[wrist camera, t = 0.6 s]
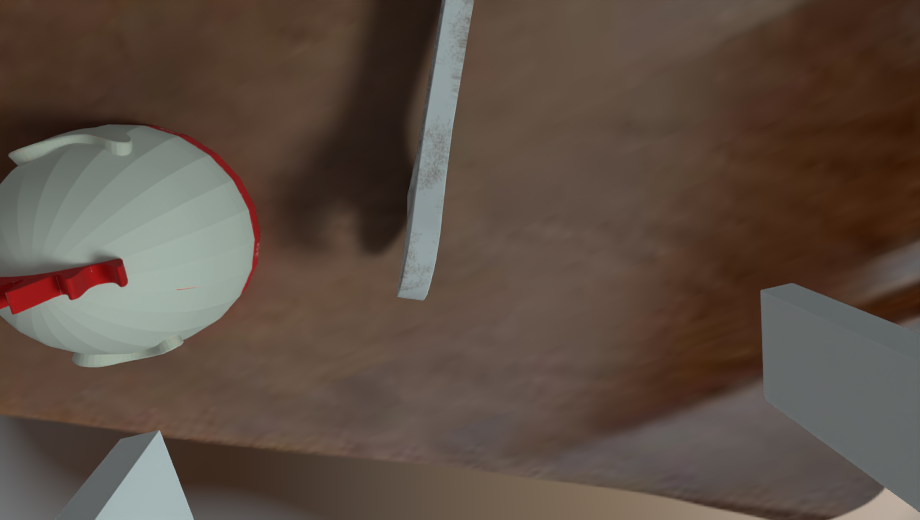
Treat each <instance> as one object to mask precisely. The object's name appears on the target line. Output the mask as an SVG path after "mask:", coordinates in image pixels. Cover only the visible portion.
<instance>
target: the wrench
mask: <svg viewBox="0 0 920 520" xmlns="http://www.w3.org/2000/svg"><path fill="white" fill-rule="evenodd" d="M473 3H474V0H442V2H441V8H440V14H439V21H438V27H437V33H436V39H435V45H434V51H433V58H432V64H431V70H430V76H429V82H428V88H427V95H426V101H425V107H424V113H423V119H422V125H421V131H420V136H419V142H418V147H417V152H416V157H415V162H414V167H413V172H412V177H411V182H410V186H409V190H408V195H407V229H406V236H405V243H404V250H403V258H402V268H401V273H400V279H399V284H398V289H397V297H403V298H410V299H417V300H424V299H425V297H426V295H427V293H428V290H429V287H430V283H431V279H432V275H433V271H434V266H435V261H436V255H437V250H438V244H439V237H440V229H441V219H442V210H443V201H444V192H445V183H446V174H447V166H448V159H449V151H450V143H451V135H452V127H453V121H454V115H455V109H456V103H457V97H458V92H459V86H460V80H461V74H462V68H463V62H464V56H465V50H466V44H467V38H468V32H469V26H470V21H471V15H472V9H473Z"/></svg>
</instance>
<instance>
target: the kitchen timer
mask: <svg viewBox="0 0 920 520" xmlns="http://www.w3.org/2000/svg"><path fill="white" fill-rule="evenodd" d="M9 157H10V158H11V159H12V160H13V161H14V162H15V163H16V164H17V165H18V166H17V167H16V168H15V169H14V170H12V171H11V172H10V173H9V175H8V176H7V177H6V178H5V179H4V181H3V182H2V183H1V184H0V316H1V317H3V318H4V319H5V320H6V321H8V322H9V323H10V324H11V325H12V326H14V327H15V328H16V329H17V330H18V331H20V332H21V333H23V334H25V335H27V336H29V337H32V338H34V339H36V340H38V341H40V342H42V343H44V344H46V345H48V346H51V347H55V348H59V349H64V350H68V351H73V352H74V355H73V358H72V361H73V362H74V363H75V364H77V365H79V366H83V367H102V366H108V365H113V364H117V363H122V362H127V361H131V360H137V359H142V358H147V357H152V356H156V355H160V354H163V353H166V352H168V351H171V350H173V349H174V348H176V347H178V346H180V345H182V344H183V340H184V339H187V338H189V337H191V336H192V335H194V334H196V333H197V332H199V331H200V330H202V329H204V328H205V327H207V326H209V325H210V324H212V323H213V322H215V321H217V320H218V319H219V318H221V317H222V316H223V314H224V313H225V312H226V311H227V310H228V309H229V308H230V307H231V305H232V304H233V303H234V302H235V301H236V300H237V299H238V297H239V296H240V295H241V294H242V293H243V292H244V290H245V289H246V288H247V286H248V283H249V281H250V279H251V276H252V274H253V272H254V270H255V267H256V265H257V262H258V252H259V242H260V231H259V226H258V221H257V216H256V211H255V207H254V204H253V202H252V200H251V198H250V196H249V195H248V193H247V191H246V189H245V187H244V185H243V183H242V181H241V179H240V178H239V177H238V176H237V175H236V173H235V172H234V171H233V170H232V169H231V168H230V167H229V166H228V165H227V164H226V163H225V162H224V161H223V160H222V159H221V157H220V156H219V155H218V154H216V153H215V152H213V151H212V150H210V149H208V148H207V147H205V146H204V145H202V144H200V143H199V142H197V141H196V140H194V139H192V138H191V137H189V136H187V135H184V134H180V133H177V132H174V131H171V130H168V129H164V128H161V127H158V126H149V125H120V124H108V125H103V126H99V127H95V128H85V129H79V130H74V131H70V132H66V133H63V134H60V135H57V136H54V137H51V138H49V139H46V140H44V141H41V142H38V143H35V144H32V145H29V146H26V147H23V148H20V149H17V150H15V151H13V152H11V153H9Z"/></svg>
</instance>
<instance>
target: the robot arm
mask: <svg viewBox="0 0 920 520" xmlns="http://www.w3.org/2000/svg"><path fill="white" fill-rule="evenodd" d="M761 316H762V346H763V375H764V399H765V400H766V401H768V402H769V403H771V404H772V405H773V406H775V407H776V408H777V409H779V410H780V411H782V412H783V413H784V414H786V415H787V416H788V417H790V418H791V419H793V420H794V421H795V422H797V423H798V424H799V425H801V426H802V427H803V428H805V429H806V430H808V431H809V432H810V433H812V434H813V435H814V436H816V437H817V438H819V439H820V440H821V441H823V442H824V443H825V444H827V445H828V446H830V447H831V448H832V449H834V450H835V451H836V452H838V453H839V454H841V455H842V456H843V457H845V458H846V459H847V460H849V461H850V462H851V463H853V464H854V465H856V466H857V467H858V468H860V469H861V470H862V471H864V472H865V473H867V474H868V475H869V476H871V477H872V478H873V479H875V480H876V481H878V482H879V483H880V484H882V485H883V486H884V487H886V488H887V489H888V490H890V491H891V492H893V493H894V494H895V495H897V496H898V497H899V498H901V499H902V500H904V501H905V502H906V503H908V504H909V505H911V506H912V507H913V508H915V509H916V510H917V511H919V512H920V334H919V333H917V332H914V331H912V330H909V329H907V328H904V327H902V326H899V325H897V324H894V323H892V322H889V321H887V320H884V319H882V318H879V317H877V316H874V315H871V314H869V313H866V312H864V311H861V310H859V309H856V308H854V307H851V306H849V305H846V304H844V303H841V302H839V301H836V300H834V299H831V298H829V297H826V296H824V295H821V294H819V293H816V292H814V291H811V290H808V289H806V288H803V287H801V286H798V285H796V284H793V283H790V284H786V285H782V286H778V287H773V288H769V289H765V290H761ZM54 520H194V519H193V516H192V514H191V511H190V508H189V506H188V503H187V501H186V498H185V495H184V493H183V491H182V488H181V485H180V483H179V480H178V477H177V475H176V472H175V469H174V467H173V464H172V462H171V459H170V456H169V454H168V451H167V449H166V446H165V443H164V441H163V438H162V436H161V433H160V430H158V431H154V432H149V433H145V434H141V435H137V436H133V437H128V438H124V439H120V440H119V442H118V443H117V444H116V445H115V447H114V448H113V449H112V450H111V451H110V453H109V454H108V455H107V456H106V458H105V459H104V460H103V461H102V462H101V464H100V465H99V466H98V467H97V469H96V470H95V471H94V472H93V473H92V474H91V476H90V477H89V478H88V479H87V481H86V482H85V483H84V484H83V486H82V487H81V488H80V489H79V490H78V492H77V493H76V494H75V495H74V497H73V498H72V499H71V500H70V501H69V503H68V504H67V505H66V506H65V507H64V509H63V510H62V511H61V512H60V514H59V515H58V516H57V517H56V518H55V519H54Z"/></svg>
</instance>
